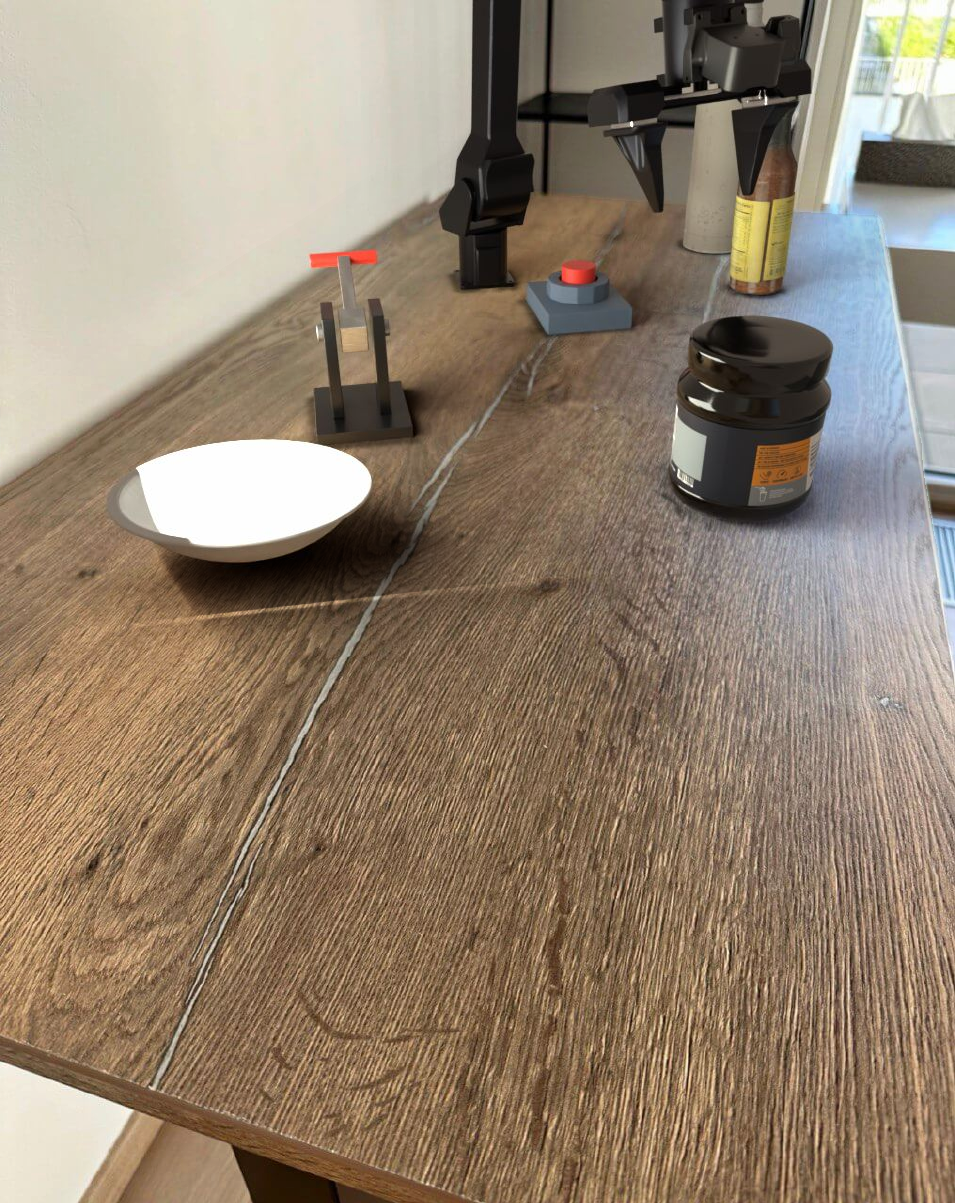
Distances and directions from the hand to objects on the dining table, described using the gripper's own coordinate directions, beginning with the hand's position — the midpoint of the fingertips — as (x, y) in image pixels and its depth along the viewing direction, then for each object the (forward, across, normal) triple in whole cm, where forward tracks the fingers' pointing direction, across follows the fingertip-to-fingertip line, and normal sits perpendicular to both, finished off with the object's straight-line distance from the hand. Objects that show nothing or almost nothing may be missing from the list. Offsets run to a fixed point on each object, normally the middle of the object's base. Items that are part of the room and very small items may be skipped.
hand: (703, 203), depth 84 cm
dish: (+16, -46, -12) cm, 50 cm away
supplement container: (+19, -11, -19) cm, 29 cm away
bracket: (+13, -33, +5) cm, 35 cm away
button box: (+11, -3, +20) cm, 23 cm away
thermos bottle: (+9, +25, +36) cm, 45 cm away
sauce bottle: (+12, +19, +19) cm, 30 cm away
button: (+7, -3, +19) cm, 21 cm away
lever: (+4, -31, +8) cm, 32 cm away
